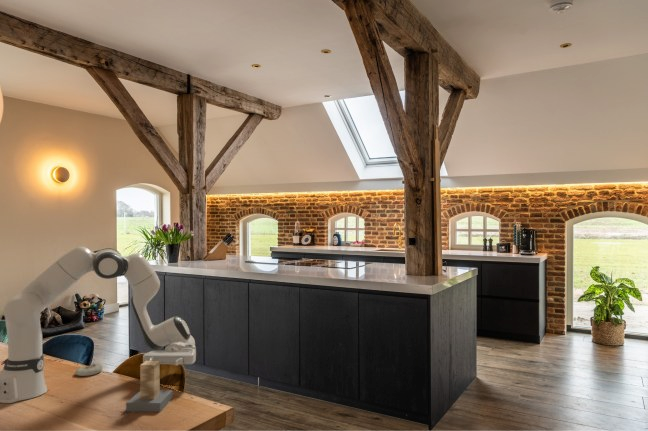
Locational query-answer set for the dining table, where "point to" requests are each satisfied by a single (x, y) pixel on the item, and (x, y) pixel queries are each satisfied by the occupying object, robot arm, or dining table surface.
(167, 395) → the plinth
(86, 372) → the fossil
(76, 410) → the dining table surface
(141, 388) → the oak block
